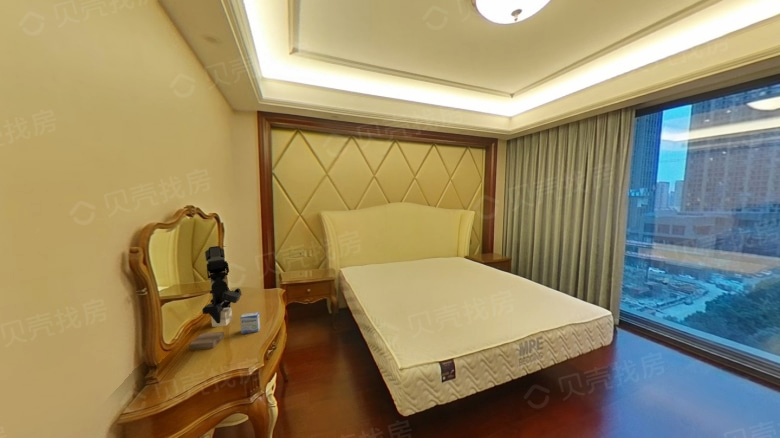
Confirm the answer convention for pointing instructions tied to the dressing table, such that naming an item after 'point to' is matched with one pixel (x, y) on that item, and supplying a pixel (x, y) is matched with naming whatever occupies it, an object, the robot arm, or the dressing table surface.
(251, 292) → the dressing table surface
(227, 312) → the maple cube
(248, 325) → the medicine box
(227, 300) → the robot arm
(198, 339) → the walnut block
